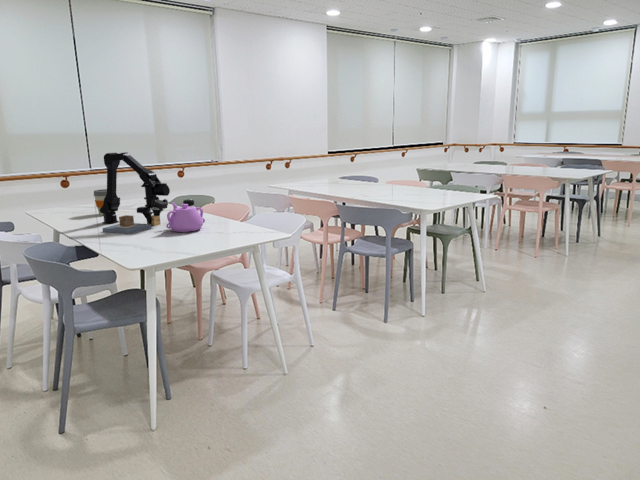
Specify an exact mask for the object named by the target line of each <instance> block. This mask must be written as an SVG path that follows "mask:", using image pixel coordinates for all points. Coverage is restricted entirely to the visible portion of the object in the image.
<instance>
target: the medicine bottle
mask: <svg viewBox="0 0 640 480" xmlns="http://www.w3.org/2000/svg"><path fill="white" fill-rule="evenodd" d="M182 204H188V207H194V208H196V206H195V200H194V199H191V198H190V199H189V198H187V199H183V202H182ZM196 210H197V211H198V212H199V209H196Z"/></svg>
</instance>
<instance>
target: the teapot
mask: <svg viewBox="0 0 640 480" xmlns="http://www.w3.org/2000/svg"><path fill="white" fill-rule="evenodd" d="M171 204H172V207H173V210H169V211H168V212H167V214H166V218H167V222H168V223H167V224H166V225H165V226H166V229H171V230H172V231H173V232H177V233H178V232H179V233H183V232H184V233H187V232H195V231H199V230H200V229H201V228H202V226H203V225H204V223H205V222H206V219H205V218H204V217H203V216H204V209H203V208H202V207H199V206H197V207H196V206H194V207H196V208H194V207H188V204H183V203H181V207H180V206H179V207H178V205H177V204H176V202H173V201H172V202H171ZM196 209H198V211H197V210H196Z"/></svg>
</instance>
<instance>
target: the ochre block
mask: <svg viewBox="0 0 640 480" xmlns="http://www.w3.org/2000/svg"><path fill="white" fill-rule="evenodd" d="M151 219H152V223H151V227H157V226H160V225H161V216H155V215H154V214H152V215H151ZM146 224H149V222H148V221H147V220H146Z"/></svg>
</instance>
